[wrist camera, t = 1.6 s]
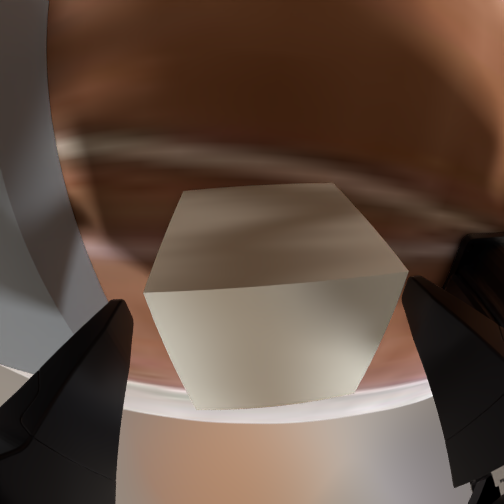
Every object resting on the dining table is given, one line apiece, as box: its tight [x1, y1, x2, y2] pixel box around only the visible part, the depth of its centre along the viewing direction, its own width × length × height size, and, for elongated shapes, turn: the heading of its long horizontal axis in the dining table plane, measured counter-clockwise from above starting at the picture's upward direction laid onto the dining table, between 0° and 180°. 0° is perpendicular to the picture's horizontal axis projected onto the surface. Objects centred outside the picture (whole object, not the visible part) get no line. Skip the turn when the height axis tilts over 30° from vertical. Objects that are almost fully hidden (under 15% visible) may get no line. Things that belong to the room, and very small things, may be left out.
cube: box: [143, 183, 409, 410], centre depth 8 cm, size 5×5×5 cm
